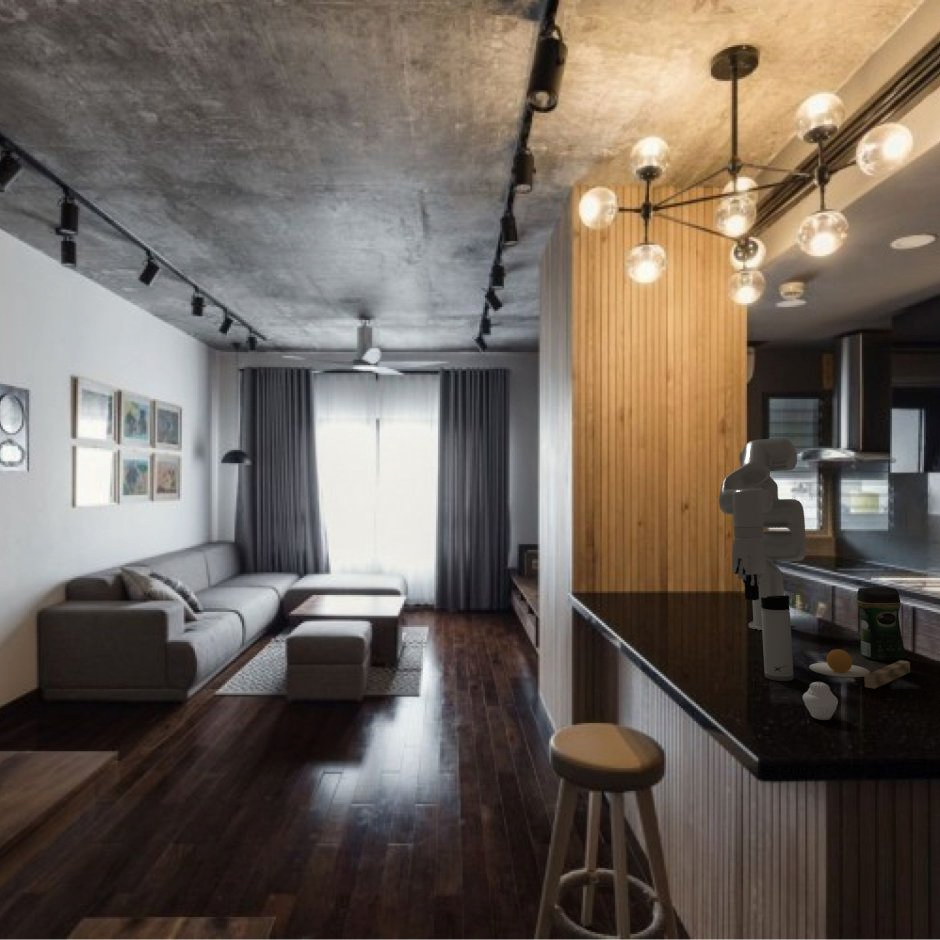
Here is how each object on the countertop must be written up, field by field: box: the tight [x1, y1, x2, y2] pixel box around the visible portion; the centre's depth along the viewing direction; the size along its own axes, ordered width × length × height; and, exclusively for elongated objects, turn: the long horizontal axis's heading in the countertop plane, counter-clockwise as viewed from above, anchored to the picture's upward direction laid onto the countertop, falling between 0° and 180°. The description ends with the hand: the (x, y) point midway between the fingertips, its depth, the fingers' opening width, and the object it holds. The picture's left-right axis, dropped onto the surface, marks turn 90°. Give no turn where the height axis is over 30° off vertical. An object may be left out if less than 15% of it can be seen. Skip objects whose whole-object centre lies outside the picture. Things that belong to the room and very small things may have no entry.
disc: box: [808, 661, 871, 678], centre depth 158 cm, size 13×13×1 cm
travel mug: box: [761, 594, 794, 682], centre depth 153 cm, size 6×7×20 cm
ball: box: [826, 648, 853, 673], centre depth 156 cm, size 6×6×6 cm
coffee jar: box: [856, 586, 906, 662], centre depth 168 cm, size 10×8×19 cm
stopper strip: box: [863, 660, 911, 689], centre depth 149 cm, size 20×2×2 cm, turn 126°
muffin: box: [802, 681, 839, 721], centre depth 126 cm, size 6×6×7 cm
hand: (752, 599), depth 176 cm, fingers closed
